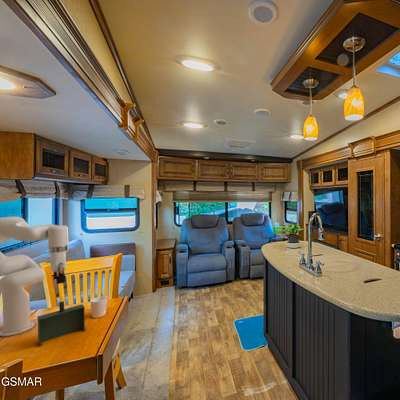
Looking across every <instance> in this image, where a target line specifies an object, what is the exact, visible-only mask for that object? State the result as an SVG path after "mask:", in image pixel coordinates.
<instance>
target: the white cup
mask: <svg viewBox="0 0 400 400" xmlns="http://www.w3.org/2000/svg"><path fill="white" fill-rule="evenodd" d="M107 309H108V296H105V295H104V296H103V295H101V296H96V297H94V298H91V299H90V312H91V317H92V318H93V319H97V318H101V317H104V316H105V315H107Z"/></svg>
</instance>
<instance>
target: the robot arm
mask: <svg viewBox="0 0 400 400" xmlns="http://www.w3.org/2000/svg"><path fill="white" fill-rule="evenodd" d="M12 239H13V240H14V241H20V242H37V241H43V240H47V241H48V243H47V244H48V254H50V267H49V268H50V270H51V272H52V274H53V276H52V277H53V279H52V280H56V285H59V284H65V283H66V272H65V271H66V270H67V252H69V227H68V226H67V225H65V224H63V225H60V224H59V225H58V224H51V223H48V224H41V225H40V224H39V225H33V226H29V223H27V222H26V220H25V219H24V218H23V217H20V216H4V217H0V244H4V243H7V242H9V241H10V240H12ZM0 277H2V278H0V294H1V299H2V301H1V302H2V316H3V317H2V323H3V325H2V326H3V328H2V329H1V330H0V337H12V336H16V335H20V334H22V333H25V332H27V331H29V330H32V329H33V328H34V327H35V323H36V322H34V321H31V299H30V298H31V297H30V293H29V292H28V291H27V290H26V289H25V288H28V287H30V286H33V285H36V284H39V283H40V282H42V281H43V280H44V279H45V278H46V274H45V271H44V270H43V268H42V267H41V266H40V265H39V264H38V263H37V262H35V260H33V259H32V258H31V257H30V256H28V255H26V254H15V255H11V256H6V255H5V254H4V253H3V252H2V251H0Z"/></svg>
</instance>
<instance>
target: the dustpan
mask: <svg viewBox="0 0 400 400" xmlns="http://www.w3.org/2000/svg"><path fill="white" fill-rule="evenodd" d="M58 306H59V308H58V309H59V310H56V311H53V312H49V313H45V314H42V315H37V343H38V346H39V347H41V346H42V344H41V342H45V341H48V340H51V339H54V338H57V337H60V336H63V335H67V334H69V333H72V332H74V331H77V330H81V329H82V331H83V332H85V331H86V324H85V323H86V321H85V320H86V318H85V317H86V315H85V306H84V304H82V303H81V304H78V305H74V306H71V307H67V308H65V301H64V300H62V301H59V304H58Z"/></svg>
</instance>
